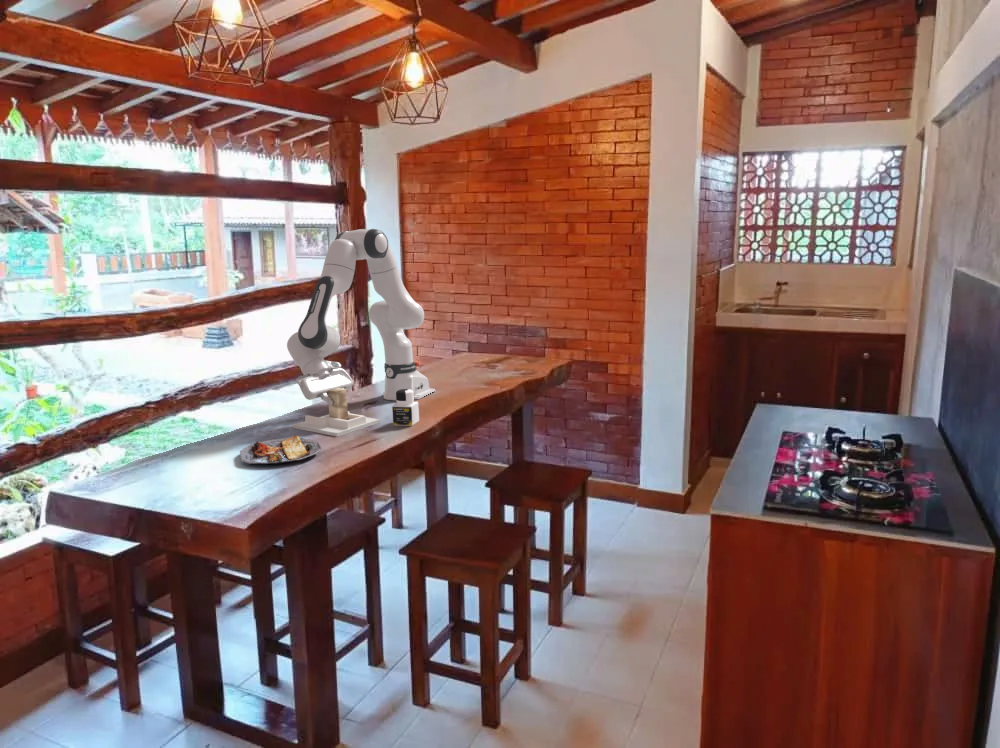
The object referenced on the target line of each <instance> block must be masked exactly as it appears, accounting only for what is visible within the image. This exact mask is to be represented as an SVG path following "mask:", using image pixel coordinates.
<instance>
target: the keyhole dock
mask: <svg viewBox="0 0 1000 748" xmlns="http://www.w3.org/2000/svg"><path fill="white" fill-rule="evenodd" d="M304 419H305V421H302V422H298V423H297V422H296V423H294V424H293V425H292V426H293V429H297V430H301V431H307V432H311V433H318V434H322V435H326V436H327V435H328V436H330V437H331V436H332V437H337V438H338V437H341V436H343V435H346V434H350V433H352V432H356V431H359V430H361V429H366V428H368V427H370V426H374V425H376V424H377V425H378V424H380V423H381V422H380V421H381V420H380V419H379V418H374V417H373V418H372V417H367V416H366V415H361V414H356V413H351V411H349V410H348V420H343V419H338V418H332V417H329V413H328V414H326V415H322V416H313V415H305V416H304Z"/></svg>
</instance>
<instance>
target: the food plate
mask: <svg viewBox="0 0 1000 748" xmlns="http://www.w3.org/2000/svg"><path fill="white" fill-rule="evenodd" d="M320 451H321V445H320V443H319V442H318V441H317V440H315V439H311V438H303V437H300V436H299V435H298V434H295V435H293V436H290V437H288V438H287V437H285V438H273V439H268V440H263V441H255V443H251V444H249V445H248V446H246V447H244V448H242V449H241V450H239V453H240V461H241V462H243V463H246V464H253V465H254V464H258V465H259V464H261V465H266V464H267V465H278V464H284V463H285V462H286V463H291V462H297V461H302V460H305V459H306V458H308V457H312V456H314V455H316V454H317V453H319V452H320ZM280 454H281V455H282V456H284V455H285V456H284V458H282V456H281V455H280ZM285 458H287V459H288V460H289V461H288V460H284V459H285ZM259 460H260V461H259ZM283 460H284V461H283Z"/></svg>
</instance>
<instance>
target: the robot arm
mask: <svg viewBox="0 0 1000 748" xmlns="http://www.w3.org/2000/svg"><path fill="white" fill-rule="evenodd" d="M364 260H366V263H367V267H368V271H369V275H370V279H371V281H372V285H373V289H374V291H375V292H376V294H377V295H379V296H380V297H381V298H382V299H383V300H379V301H376V302H374V303H372V305H371V306H370V308H369V310H368V316H369V320H370V322H371V323H372V324H373V325H374V326H375V328H376V329H377V330H378V332H379V335H380V338H381V341H382V343H383V348H384V349H383V350H384V361H385V363H384V373H385V376H384V391H383V396H382V397H383V399H384V400H387V401H396V392H397V391H398V390H401V389H410V390H412V391H413V394H414V400H420V399H422V398H424V396H425V397H427V396H429V395H431V394H433V393H432V392H434V391H435V392H436V389H435V388H433V387H432V388H431V387H430V383H429V379H428V378H427V376H425V375H424V374H422V373H421V372H419V370H418V369H417V367H420V366H421V362H420V361H414V354H413V343H412V342H411V340H410V339H409V338H408V337H407V335H406V334H405V333H404V330H411V329H412V330H413V329H417V328H419V327H421V326H422V324H423V322H424V320H425V311H424V308H423V307H422V306H421V305H420V304H419V303H418V302H416V300H414V299H413V298H412V296H411V294H409V292H408V290H407V289H406V287H405V285H404V282H403V280H402V277H401V273H400V270H399V267H398V263H397V259H396V257H395V254H394V252H393V250H392V248H391V245H390V244H389V240H388V237H387V236H386V234H385V233H384V232H383V230H380V229H377V228H370V229H368V228H367V229H366V228H360V229H355V230H350V231H349V230H347V231H346V230H345V231H343V232H340V233H338V234H337V235H336V236H335V238H334V240H333V241H331V243H330V245H329V247H328V249H327V252H326V255H325V258H324V261H323V266H322V270H321V274H320V278H319V279H318V281H317V283H316V285H315V288H314V290H313V293H312V296H311V300H310V301H309V302H310V303H309V307H308V310H307V313H306V315H305V316H304V319H303V320H302V322H301V323H300V325H299V327H298V330H297V332H295V333H293V334H292V335H291V336H290V337H289V338H288V340H287V343H286V346H287V347H286V348H287V350H288V353H289V355H290V357H291V358H292V360H293V361H294V363H295V364H296V365H297V366H298V367H299V369H300V370H301V373H302V374H303V375H299V376H297V377H296V383H297V385H298V386H299V389H300V391H301V393H302V395H303V396H304V398H305V399H306V400H309V401H310V400H311V401H312V400H314V399H318V398H320V399H321V400H323V402H326V403H327V404H328V406H329V405H333V404H334V403H335V401H334V400H333V398H329V397H328V391H329V390H333V389H337V388H342V389H346V391H350V390H351V388H353V386H354V380H353V378H352V377H351V376H350V374H349V373H348V372H347V371H346V370H345V369H344V368H342V364H341V362H338V361H330V360H327V359H326V360H325V358H326V357H328V356H329V355H331V354H332V353H334V352H335V351H337V350H338V349H339V347H340V344H341V336H340V333H339V332H338V331H337V330H336V329H334V328H332V327H331V326H329V325H327V323H326V317H327V314H328V310H329V307H330V303H331V301H332V298H333V297H334V296H335V295H339V294H343V293H345V292H346V291H349V289H350V288H351V285H352V283H353V281H354V276H355V271H356V263H357V262H356V261H364ZM435 392H434V393H435ZM430 393H431V394H430ZM428 394H429V395H428ZM426 395H427V396H426ZM348 399H349V398H348V397H347V400H348Z"/></svg>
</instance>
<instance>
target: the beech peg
mask: <svg viewBox="0 0 1000 748" xmlns="http://www.w3.org/2000/svg"><path fill="white" fill-rule="evenodd" d="M327 396H328V397H329V398H333V400H334V401H335V403H334V404H333V405H329V404H328V414H329V417H332V418H338V419H343V420H348V411H349V409H348V399H347V398H348V394H347V390H346V389H342V388H337V389H333V390H329V391H328V395H327Z"/></svg>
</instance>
